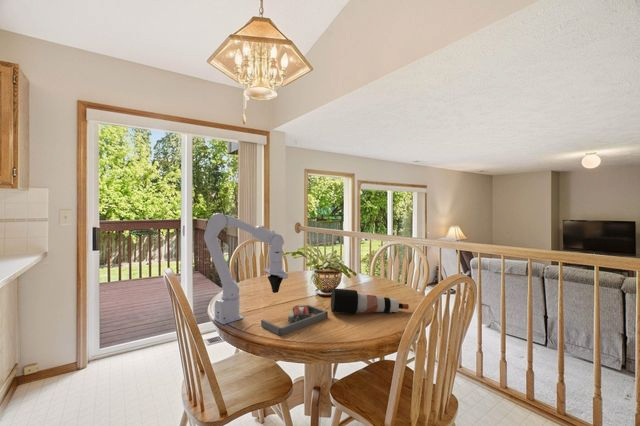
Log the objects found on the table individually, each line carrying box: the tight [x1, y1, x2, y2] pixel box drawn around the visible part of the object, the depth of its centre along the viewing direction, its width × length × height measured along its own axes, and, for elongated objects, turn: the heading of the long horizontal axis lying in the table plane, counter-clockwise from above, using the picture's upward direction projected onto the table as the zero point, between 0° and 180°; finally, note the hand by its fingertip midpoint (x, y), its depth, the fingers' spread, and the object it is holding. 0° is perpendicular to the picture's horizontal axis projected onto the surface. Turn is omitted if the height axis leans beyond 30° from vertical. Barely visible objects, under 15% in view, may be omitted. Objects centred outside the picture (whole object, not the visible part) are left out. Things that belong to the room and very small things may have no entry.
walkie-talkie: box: [287, 304, 311, 325], centre depth 123 cm, size 9×4×20 cm
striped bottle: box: [330, 287, 410, 315], centre depth 131 cm, size 10×34×10 cm, turn 95°
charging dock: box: [260, 304, 328, 337], centre depth 120 cm, size 25×12×2 cm, turn 136°
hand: (275, 292), depth 129 cm, fingers closed
